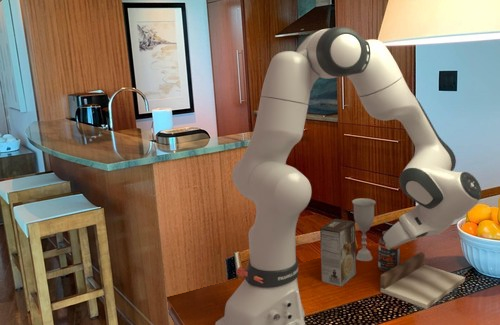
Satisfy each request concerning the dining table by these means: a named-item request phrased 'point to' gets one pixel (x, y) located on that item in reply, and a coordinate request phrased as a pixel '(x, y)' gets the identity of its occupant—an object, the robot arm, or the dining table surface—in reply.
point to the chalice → (363, 223)
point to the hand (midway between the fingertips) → (399, 242)
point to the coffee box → (338, 252)
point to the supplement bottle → (387, 256)
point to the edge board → (418, 282)
